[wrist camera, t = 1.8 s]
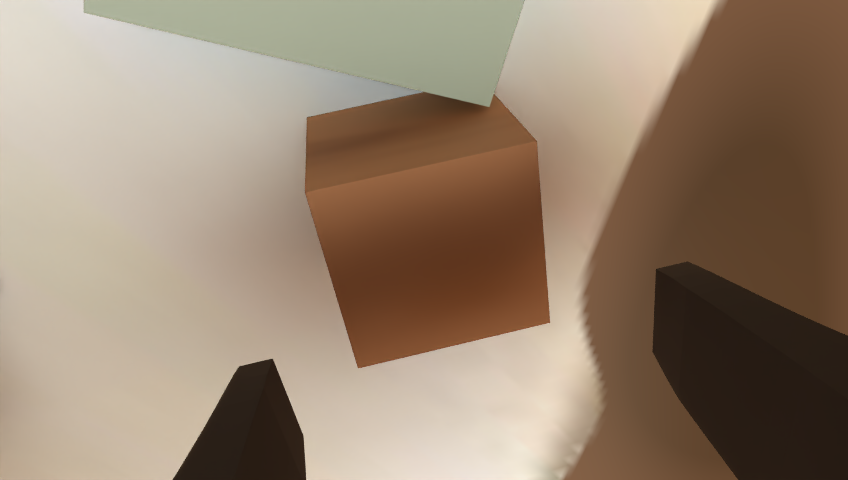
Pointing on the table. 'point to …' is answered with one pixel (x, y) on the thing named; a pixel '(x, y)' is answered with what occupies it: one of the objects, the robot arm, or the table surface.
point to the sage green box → (351, 36)
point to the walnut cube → (428, 222)
